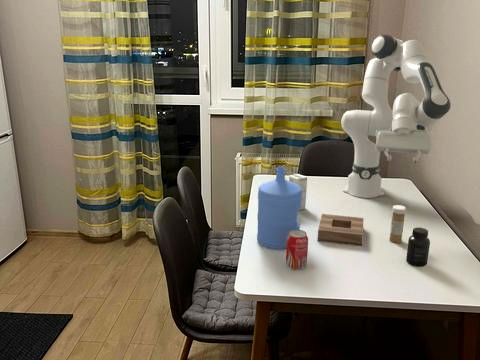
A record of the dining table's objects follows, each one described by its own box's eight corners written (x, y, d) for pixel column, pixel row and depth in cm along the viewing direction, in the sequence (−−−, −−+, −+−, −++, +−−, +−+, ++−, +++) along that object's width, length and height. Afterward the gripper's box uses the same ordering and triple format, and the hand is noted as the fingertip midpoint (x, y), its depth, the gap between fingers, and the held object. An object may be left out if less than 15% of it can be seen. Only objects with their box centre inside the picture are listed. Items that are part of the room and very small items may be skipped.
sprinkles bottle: (391, 237, 182) (395, 203, 178) (403, 240, 180) (407, 206, 176) (387, 241, 179) (391, 207, 175) (399, 244, 176) (403, 210, 172)
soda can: (288, 259, 165) (290, 227, 161) (309, 263, 162) (311, 230, 158) (282, 268, 158) (284, 235, 155) (303, 273, 156) (305, 239, 152)
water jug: (274, 255, 168) (276, 178, 159) (248, 238, 180) (249, 166, 171) (308, 244, 176) (312, 170, 167) (281, 229, 188) (284, 160, 179)
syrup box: (287, 207, 210) (288, 175, 206) (297, 204, 214) (298, 173, 209) (296, 211, 206) (297, 179, 201) (306, 208, 209) (307, 176, 205)
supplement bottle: (430, 262, 163) (435, 230, 159) (421, 269, 159) (426, 236, 155) (411, 256, 168) (415, 224, 164) (401, 262, 163) (406, 230, 160)
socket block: (321, 224, 193) (322, 213, 192) (362, 228, 189) (363, 217, 188) (317, 241, 178) (318, 229, 177) (361, 246, 175) (363, 234, 173)
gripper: (376, 124, 188) (374, 155, 182) (432, 127, 183) (432, 159, 177) (375, 133, 193) (373, 163, 187) (429, 136, 188) (429, 167, 183)
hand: (402, 161), depth 182 cm, fingers open, 8 cm apart
